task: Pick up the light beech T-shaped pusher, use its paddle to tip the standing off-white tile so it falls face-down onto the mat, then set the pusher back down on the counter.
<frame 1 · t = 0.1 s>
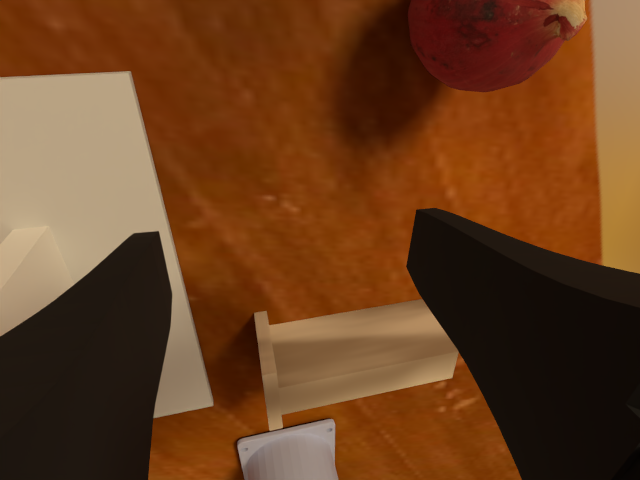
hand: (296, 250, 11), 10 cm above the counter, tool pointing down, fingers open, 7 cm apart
pusher: (347, 324, 27), on the counter
tile: (58, 286, 20), resting on mat
onion: (438, 9, 18), on the counter
mat: (27, 300, 21), on the counter
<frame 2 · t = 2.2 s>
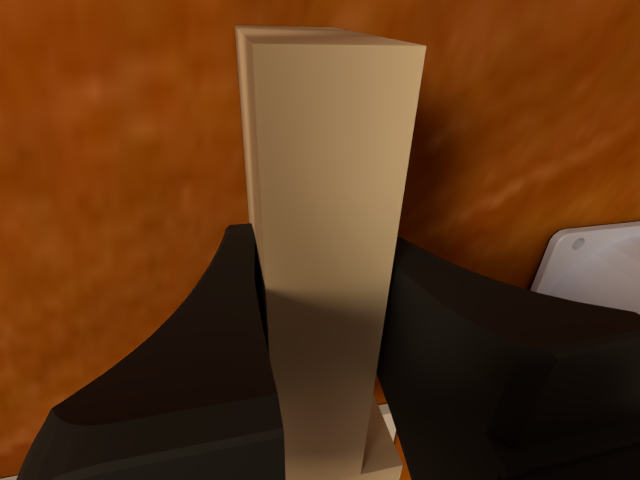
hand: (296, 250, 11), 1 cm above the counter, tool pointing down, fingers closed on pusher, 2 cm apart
pusher: (288, 226, 12), on the counter, touching gripper
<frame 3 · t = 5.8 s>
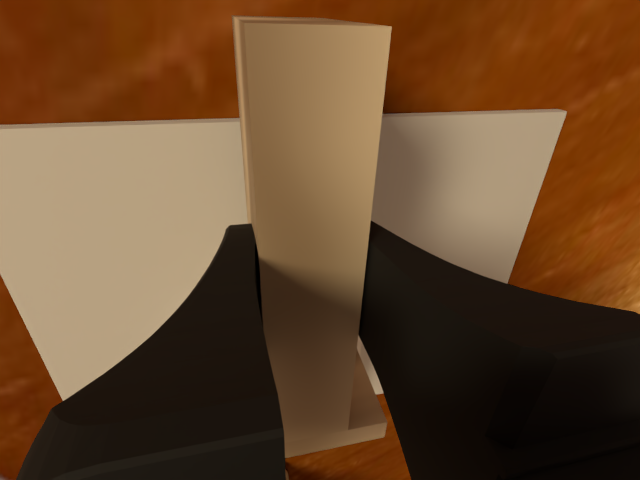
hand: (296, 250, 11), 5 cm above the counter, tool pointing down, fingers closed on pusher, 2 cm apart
pusher: (282, 204, 13), point 2 cm above the counter, touching gripper
mat: (299, 291, 18), on the counter
when the fingers open (2 cm above the counter, at t = 9.2 s): pusher stays where it is, on the counter.
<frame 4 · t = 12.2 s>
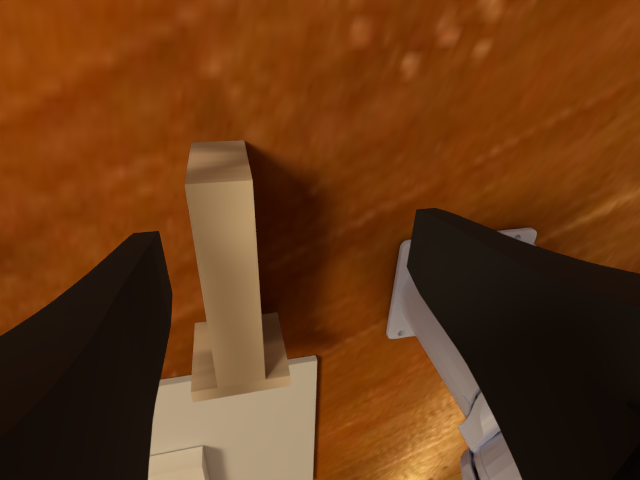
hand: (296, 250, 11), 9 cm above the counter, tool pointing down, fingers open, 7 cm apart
pusher: (229, 241, 21), on the counter
tile: (150, 466, 27), point 1 cm above the counter, tilted 90°, touching mat
mat: (169, 452, 29), on the counter
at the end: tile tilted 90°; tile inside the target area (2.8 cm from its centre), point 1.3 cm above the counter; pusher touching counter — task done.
